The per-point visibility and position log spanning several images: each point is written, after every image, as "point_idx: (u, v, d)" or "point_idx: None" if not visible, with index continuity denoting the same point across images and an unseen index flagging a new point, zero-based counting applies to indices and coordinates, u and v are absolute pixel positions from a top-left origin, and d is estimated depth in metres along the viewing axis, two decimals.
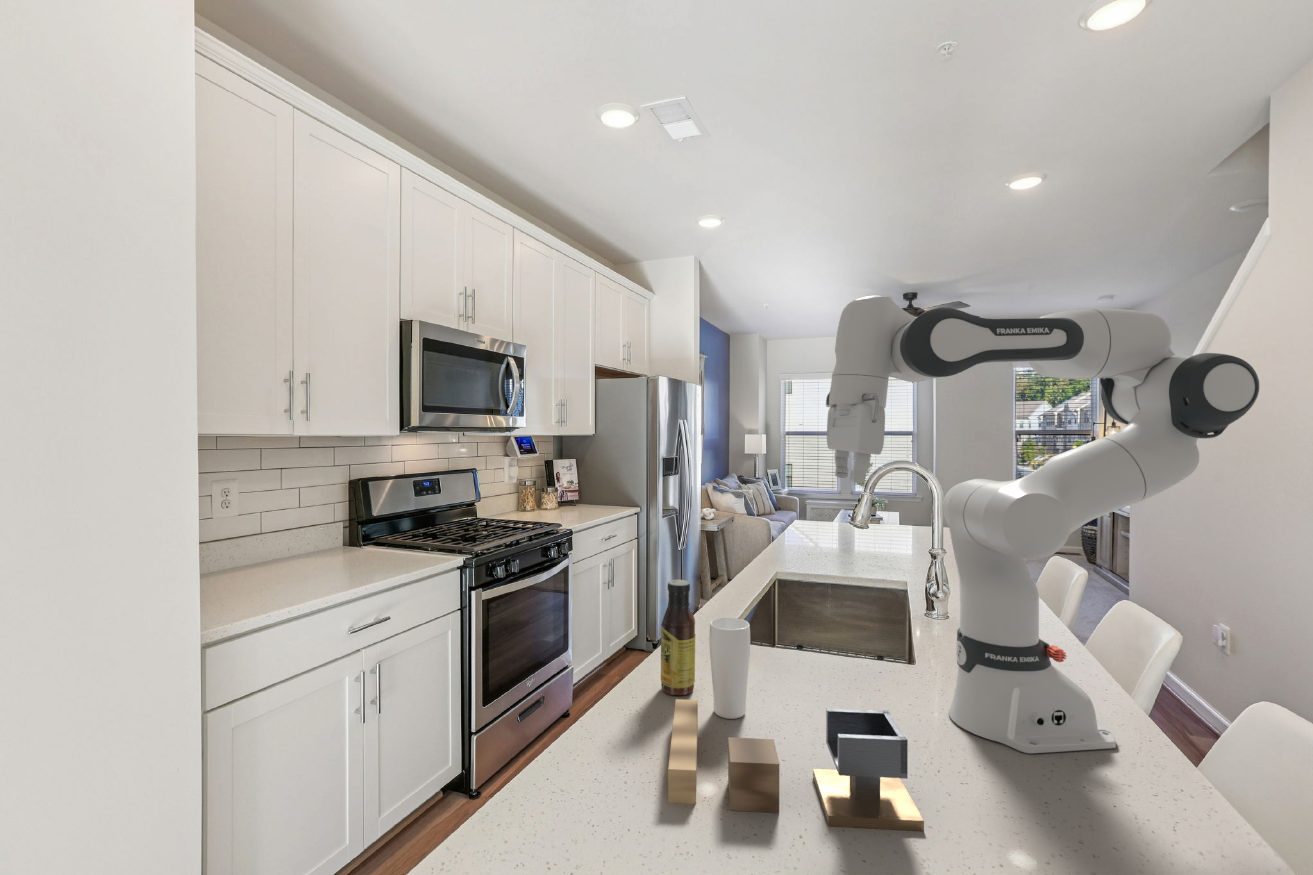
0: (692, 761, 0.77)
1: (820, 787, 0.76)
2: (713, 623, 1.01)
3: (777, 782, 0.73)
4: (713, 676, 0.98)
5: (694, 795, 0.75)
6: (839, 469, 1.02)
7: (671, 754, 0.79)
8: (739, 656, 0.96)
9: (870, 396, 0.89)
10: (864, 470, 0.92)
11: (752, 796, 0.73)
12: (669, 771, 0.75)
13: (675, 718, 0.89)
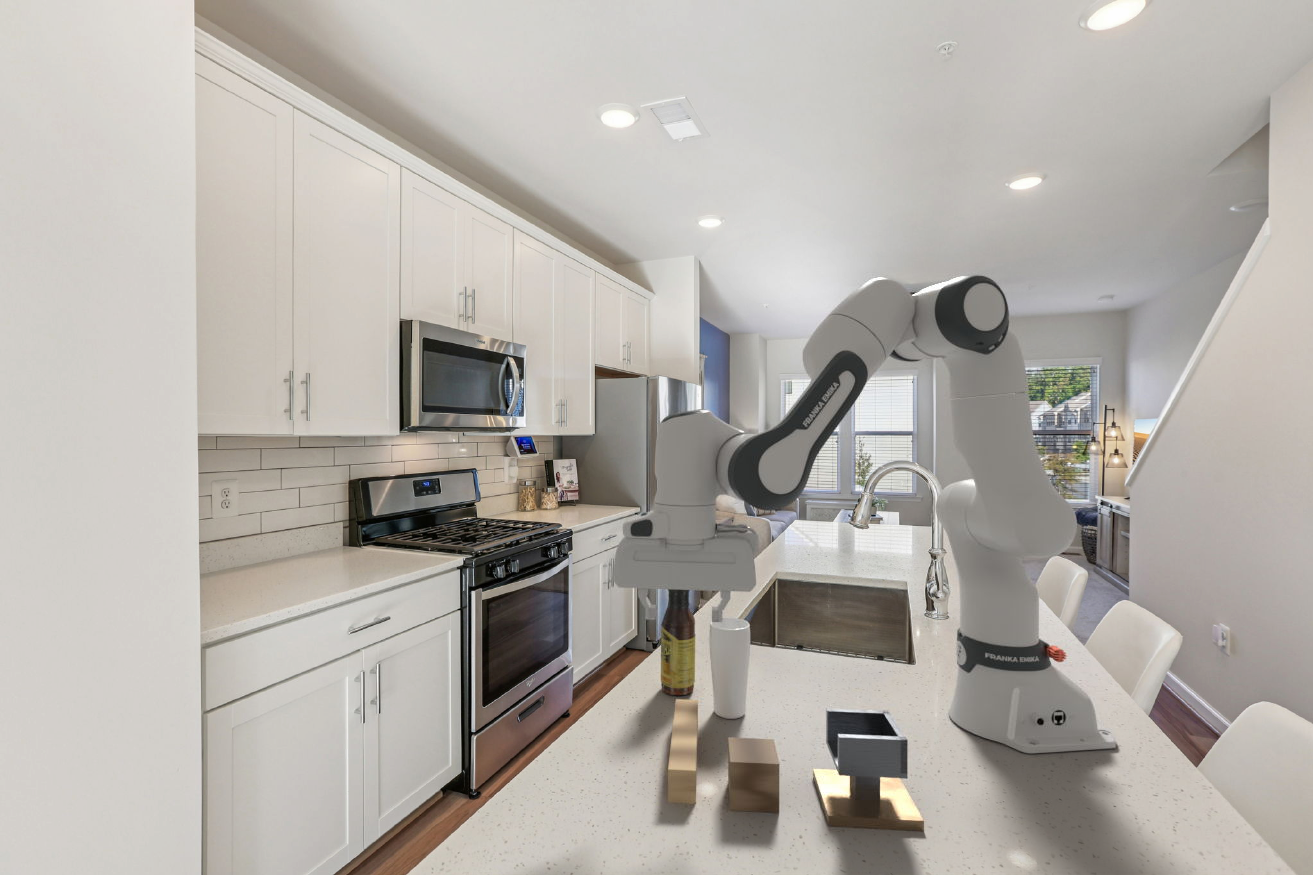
0: (692, 761, 0.77)
1: (820, 787, 0.76)
2: (713, 623, 1.01)
3: (777, 782, 0.73)
4: (713, 676, 0.98)
5: (694, 795, 0.75)
6: (655, 610, 0.85)
7: (671, 754, 0.79)
8: (739, 656, 0.96)
9: (744, 529, 0.84)
10: None
11: (752, 796, 0.73)
12: (669, 771, 0.75)
13: (675, 718, 0.89)
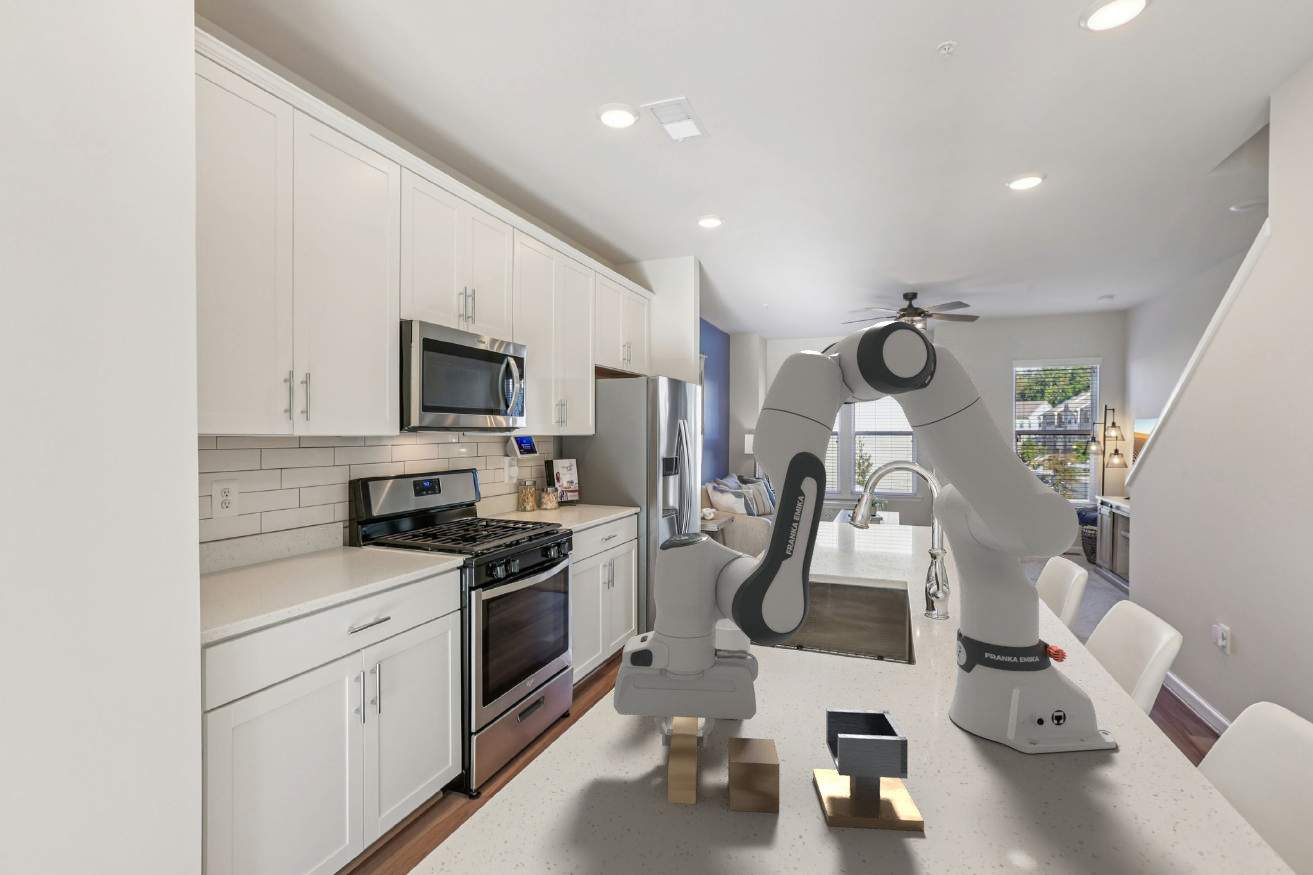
0: (692, 760, 0.77)
1: (820, 787, 0.76)
2: None
3: (777, 782, 0.73)
4: None
5: (694, 794, 0.75)
6: None
7: (671, 753, 0.79)
8: None
9: (744, 655, 0.84)
10: None
11: (752, 796, 0.73)
12: (669, 770, 0.75)
13: (675, 717, 0.89)
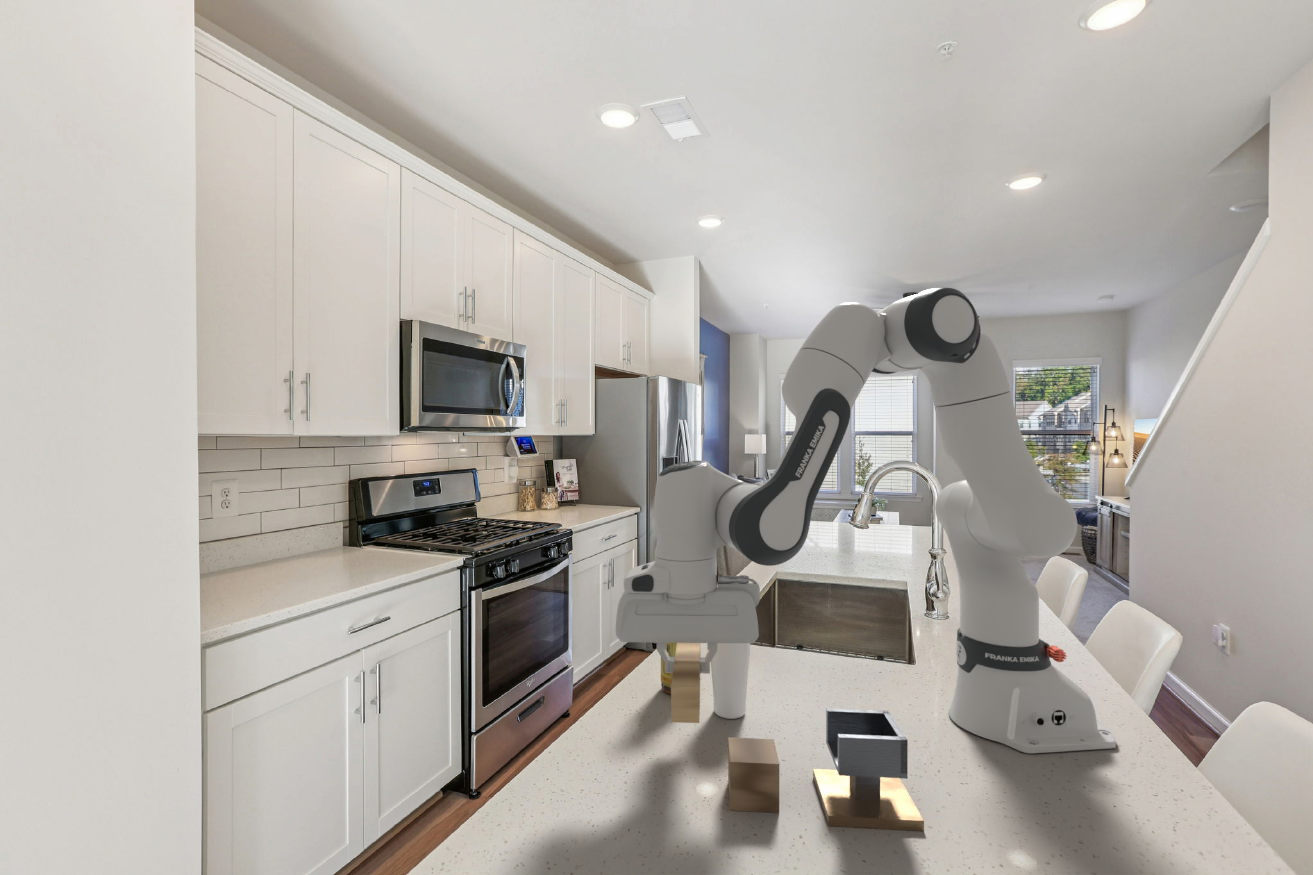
0: (695, 680, 0.77)
1: (820, 787, 0.76)
2: None
3: (777, 782, 0.73)
4: (713, 676, 0.98)
5: (697, 712, 0.75)
6: None
7: (674, 675, 0.79)
8: (739, 656, 0.96)
9: (745, 580, 0.84)
10: None
11: (752, 796, 0.73)
12: (672, 688, 0.75)
13: (678, 648, 0.89)
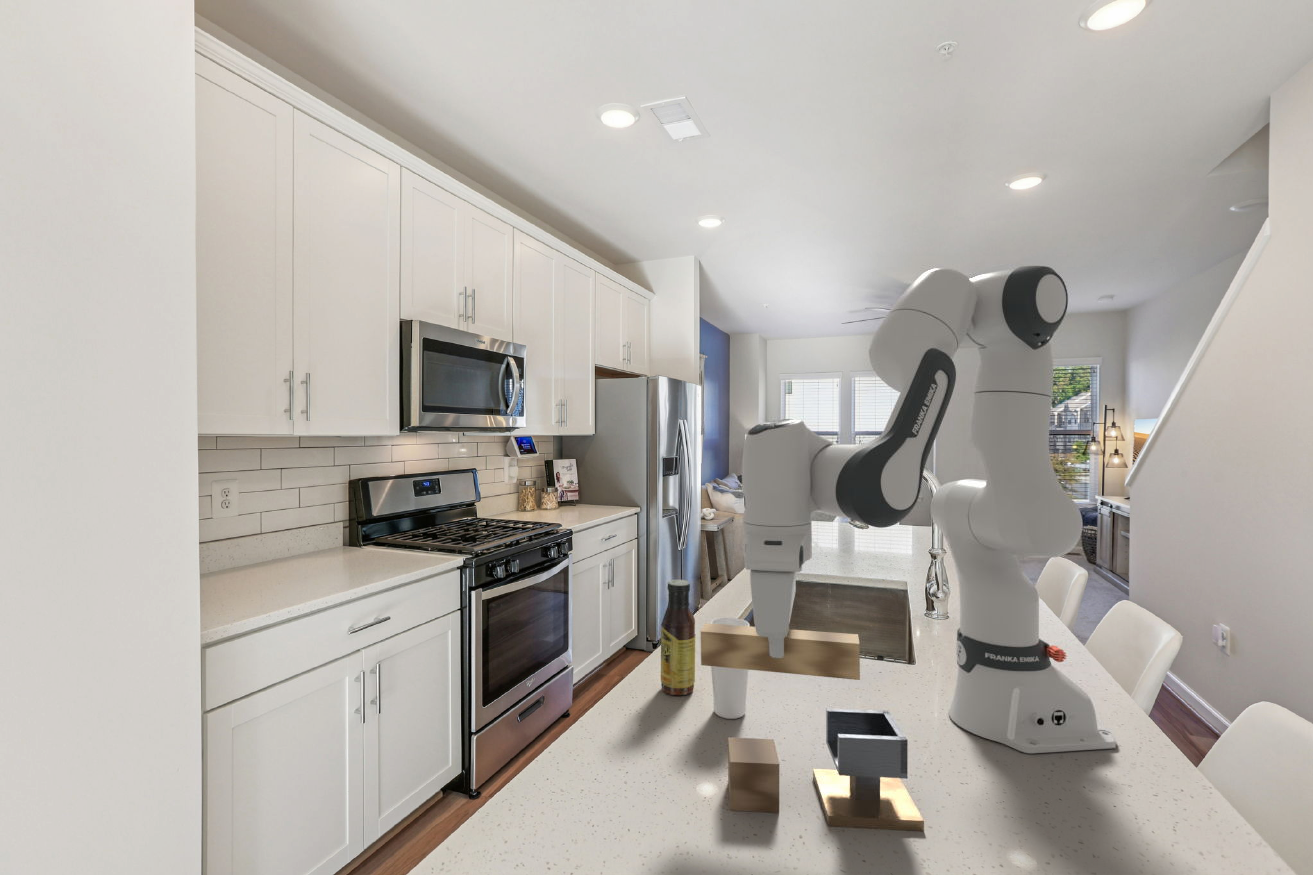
0: (842, 634, 0.77)
1: (820, 787, 0.76)
2: (713, 623, 1.01)
3: (777, 782, 0.73)
4: (713, 676, 0.98)
5: None
6: None
7: (830, 640, 0.75)
8: None
9: None
10: None
11: (752, 796, 0.73)
12: None
13: (749, 634, 0.77)
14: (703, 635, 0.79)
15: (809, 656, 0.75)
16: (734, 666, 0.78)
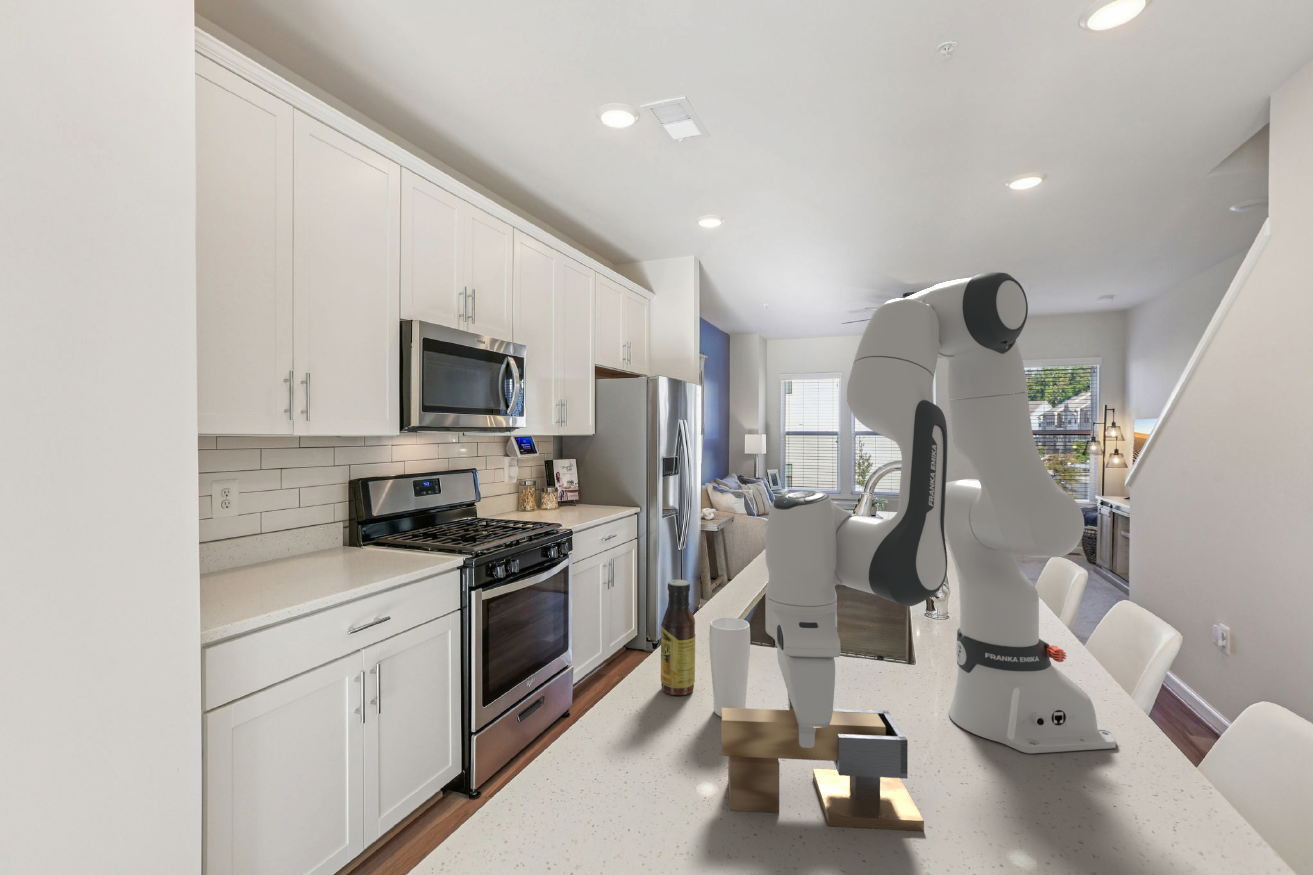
0: (862, 714, 0.76)
1: (820, 787, 0.76)
2: (713, 623, 1.01)
3: (777, 782, 0.73)
4: (713, 676, 0.98)
5: None
6: None
7: (856, 724, 0.74)
8: (739, 656, 0.96)
9: None
10: None
11: (752, 796, 0.73)
12: (885, 727, 0.73)
13: (774, 721, 0.75)
14: (725, 724, 0.75)
15: (836, 741, 0.74)
16: (758, 755, 0.75)
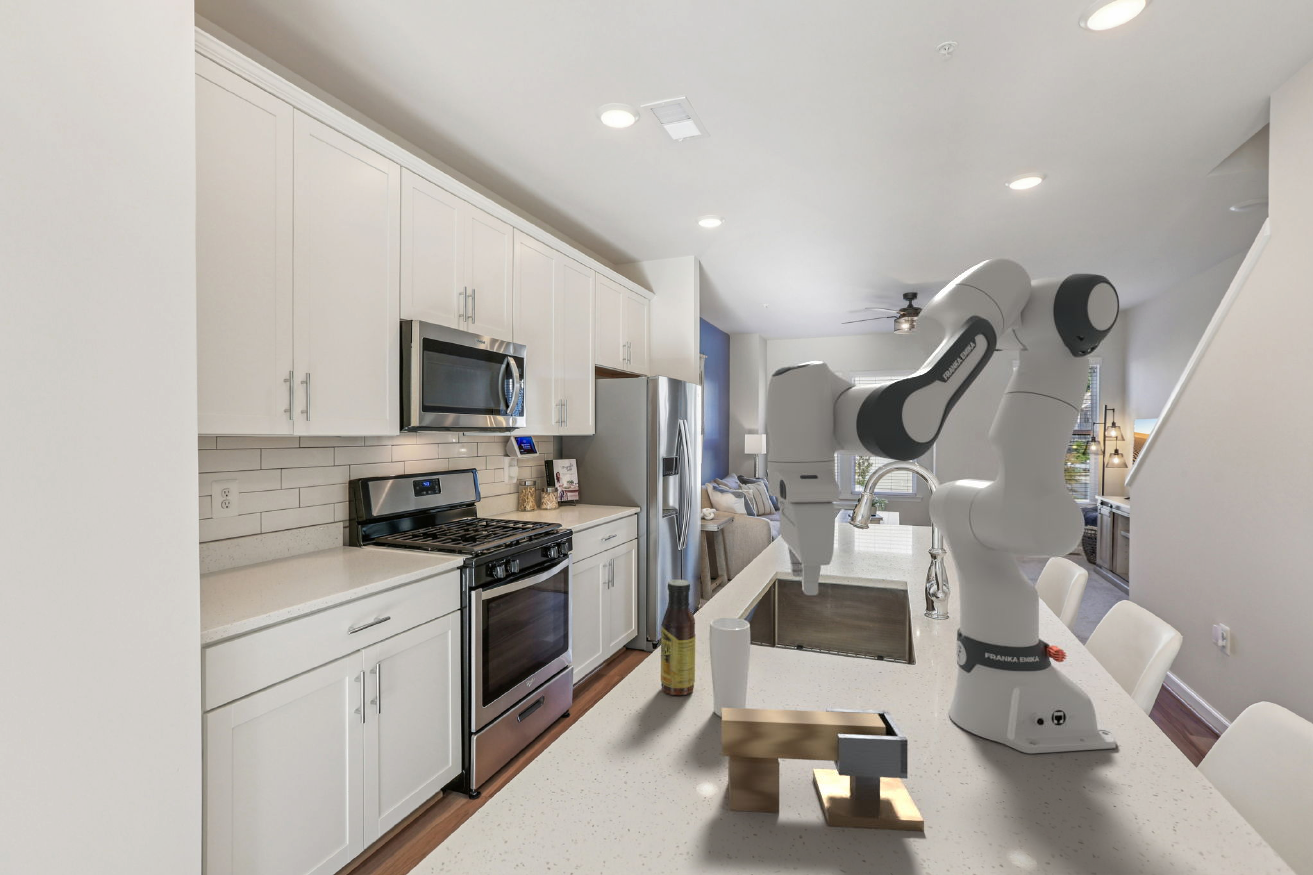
0: (862, 714, 0.76)
1: (820, 787, 0.76)
2: (713, 623, 1.01)
3: (777, 782, 0.73)
4: (713, 676, 0.98)
5: None
6: None
7: (856, 724, 0.74)
8: (739, 656, 0.96)
9: None
10: None
11: (752, 796, 0.73)
12: (885, 727, 0.73)
13: (774, 721, 0.75)
14: (725, 724, 0.75)
15: (836, 741, 0.74)
16: (758, 755, 0.75)
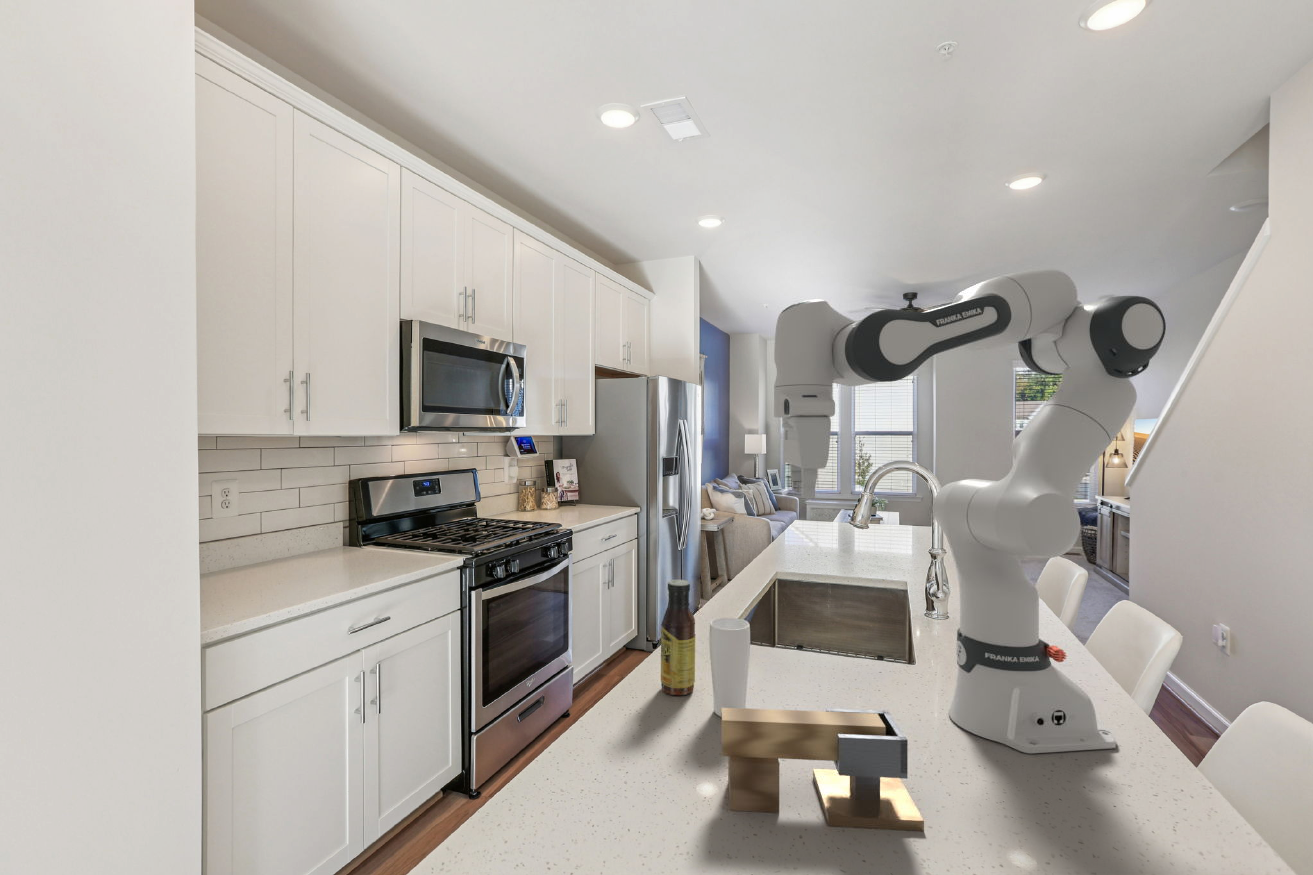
0: (862, 714, 0.76)
1: (820, 787, 0.76)
2: (713, 623, 1.01)
3: (777, 782, 0.73)
4: (713, 676, 0.98)
5: None
6: None
7: (856, 724, 0.74)
8: (739, 656, 0.96)
9: None
10: None
11: (752, 796, 0.73)
12: (885, 727, 0.73)
13: (774, 721, 0.75)
14: (725, 724, 0.75)
15: (836, 741, 0.74)
16: (758, 755, 0.75)
